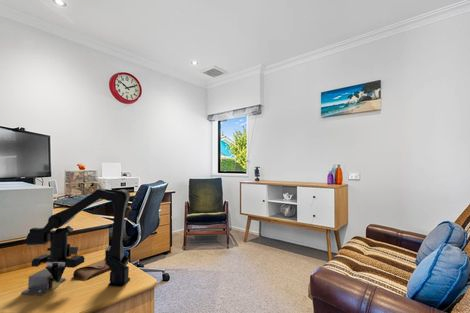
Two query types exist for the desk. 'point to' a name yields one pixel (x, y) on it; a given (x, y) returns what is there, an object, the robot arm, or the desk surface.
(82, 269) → the sunglasses case
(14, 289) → the desk surface
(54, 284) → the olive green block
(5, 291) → the desk surface
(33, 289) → the flanged grey block
